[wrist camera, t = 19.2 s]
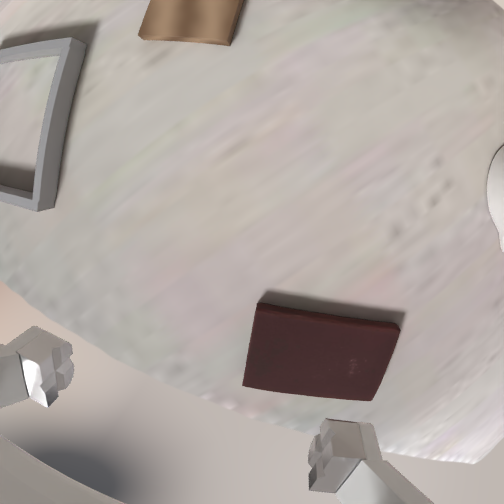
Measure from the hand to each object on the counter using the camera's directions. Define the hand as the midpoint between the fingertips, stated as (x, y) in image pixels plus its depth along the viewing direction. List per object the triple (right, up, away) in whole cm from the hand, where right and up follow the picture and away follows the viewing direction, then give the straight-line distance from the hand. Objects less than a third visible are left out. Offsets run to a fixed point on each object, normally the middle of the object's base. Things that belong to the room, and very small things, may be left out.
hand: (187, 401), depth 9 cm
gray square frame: (-37, +26, +30) cm, 54 cm away
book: (+11, -9, +34) cm, 37 cm away
